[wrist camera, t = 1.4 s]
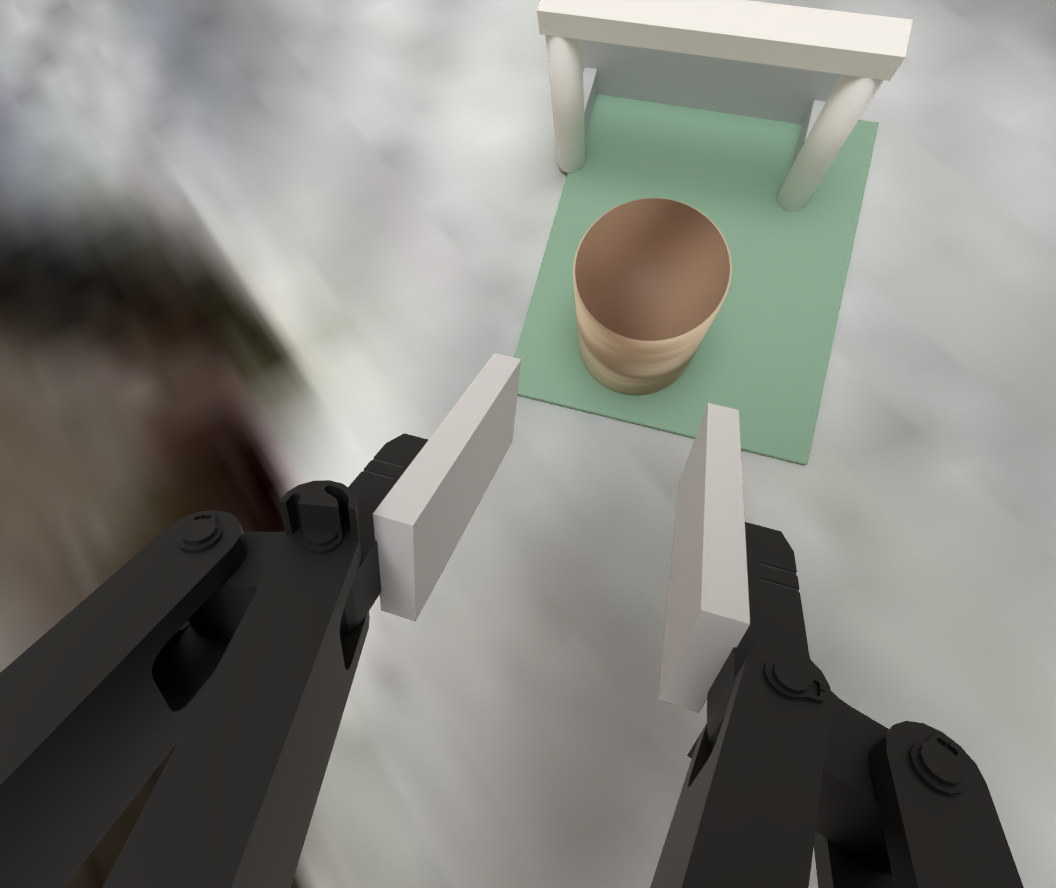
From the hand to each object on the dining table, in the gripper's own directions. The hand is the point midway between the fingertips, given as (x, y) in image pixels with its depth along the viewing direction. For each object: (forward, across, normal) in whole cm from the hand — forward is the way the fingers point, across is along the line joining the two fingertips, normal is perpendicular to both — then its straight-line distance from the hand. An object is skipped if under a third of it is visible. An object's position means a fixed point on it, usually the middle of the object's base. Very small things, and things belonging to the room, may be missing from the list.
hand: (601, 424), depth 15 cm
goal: (+29, 0, +3) cm, 29 cm away
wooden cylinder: (+19, 0, -6) cm, 20 cm away
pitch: (+24, +2, -2) cm, 24 cm away
